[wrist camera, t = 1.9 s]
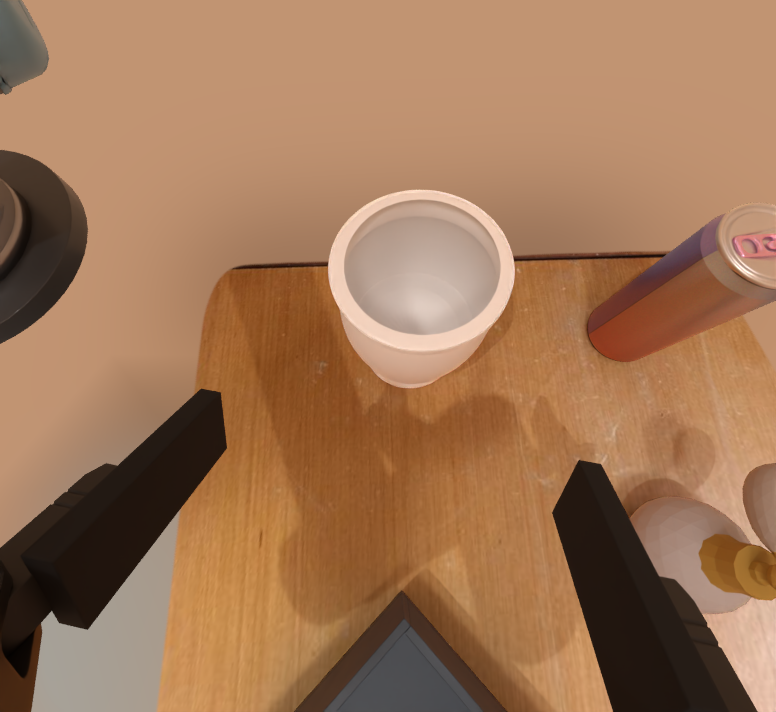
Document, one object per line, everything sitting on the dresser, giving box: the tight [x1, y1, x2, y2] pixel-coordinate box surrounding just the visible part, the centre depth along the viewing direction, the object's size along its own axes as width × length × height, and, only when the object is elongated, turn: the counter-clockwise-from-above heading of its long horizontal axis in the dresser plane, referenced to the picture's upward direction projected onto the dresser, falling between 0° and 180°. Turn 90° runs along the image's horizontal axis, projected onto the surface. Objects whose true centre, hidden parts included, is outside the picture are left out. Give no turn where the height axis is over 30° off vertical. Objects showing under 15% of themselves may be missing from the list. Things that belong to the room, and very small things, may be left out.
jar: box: [328, 190, 515, 388], centre depth 28 cm, size 11×10×15 cm
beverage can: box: [588, 203, 776, 362], centre depth 28 cm, size 6×6×15 cm
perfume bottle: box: [630, 463, 776, 614], centre depth 25 cm, size 8×10×12 cm
